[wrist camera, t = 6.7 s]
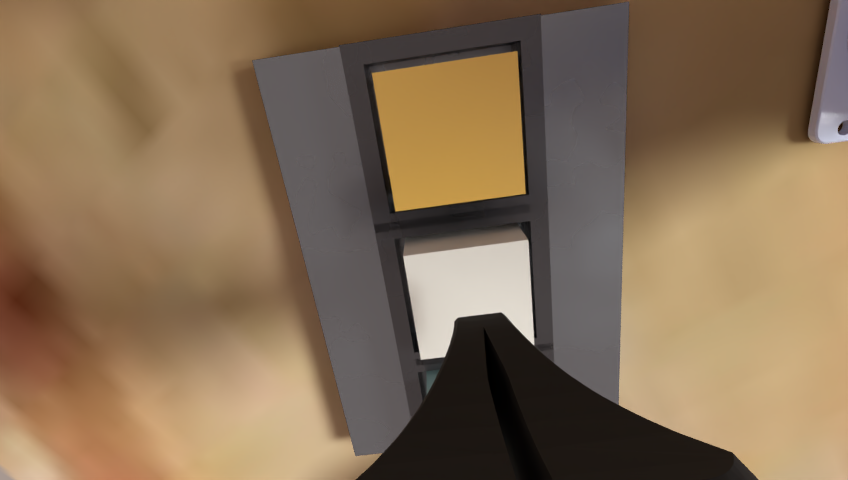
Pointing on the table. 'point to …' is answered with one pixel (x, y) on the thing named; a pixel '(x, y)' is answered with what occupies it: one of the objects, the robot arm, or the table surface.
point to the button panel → (386, 229)
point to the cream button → (467, 281)
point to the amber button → (452, 131)
